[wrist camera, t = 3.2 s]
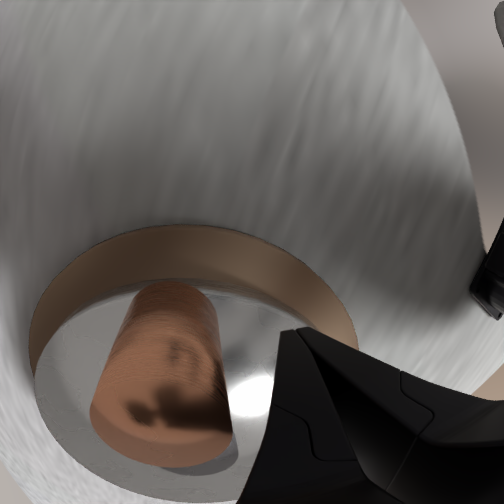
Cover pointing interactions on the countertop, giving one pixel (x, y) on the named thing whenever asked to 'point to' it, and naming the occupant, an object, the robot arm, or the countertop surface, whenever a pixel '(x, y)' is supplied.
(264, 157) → the countertop surface
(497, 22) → the water bottle
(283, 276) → the wheel base
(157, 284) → the handwheel
